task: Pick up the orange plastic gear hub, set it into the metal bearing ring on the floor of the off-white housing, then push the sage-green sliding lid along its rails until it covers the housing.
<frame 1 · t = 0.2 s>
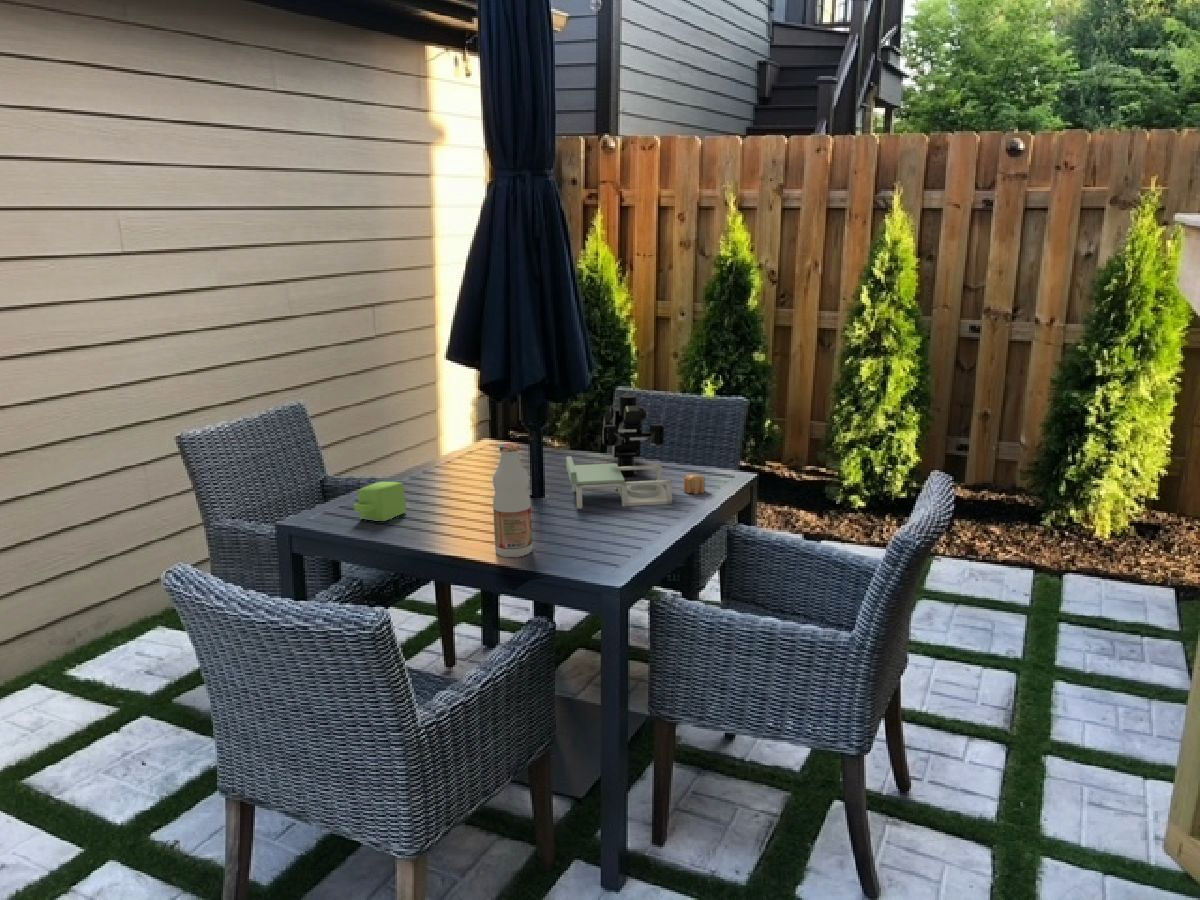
hand: (637, 441, 285), 17 cm above the table, tool horizontal, fingers open, 9 cm apart
housing: (643, 495, 289), on the table
gearbox: (383, 516, 275), on the table
sliding lid: (594, 469, 285), point 9 cm above the table, slide at -14.0 cm
gear hub: (694, 491, 292), on the table
fruit juice: (514, 552, 242), on the table
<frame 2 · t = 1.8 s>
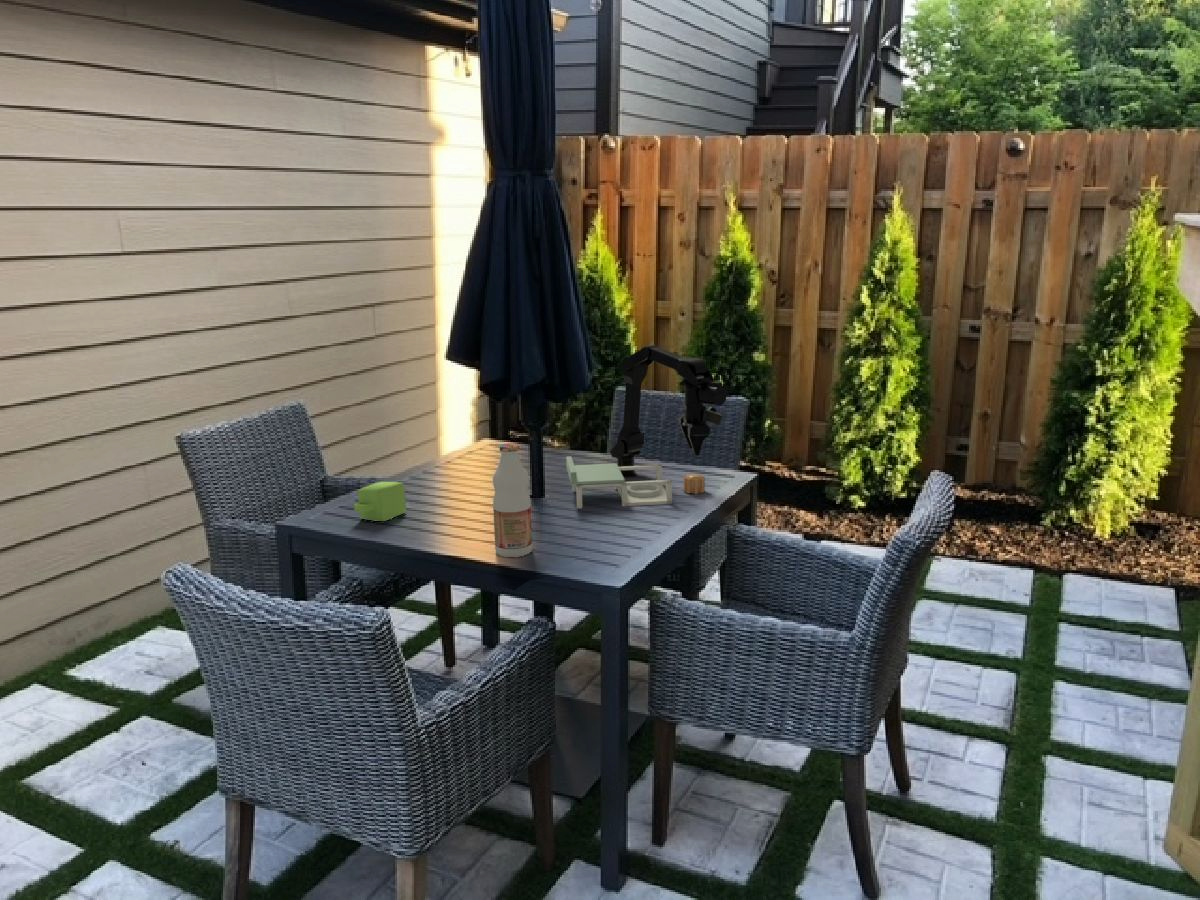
hand: (694, 451, 289), 13 cm above the table, tool pointing down, fingers open, 9 cm apart
nothing on the table moved.
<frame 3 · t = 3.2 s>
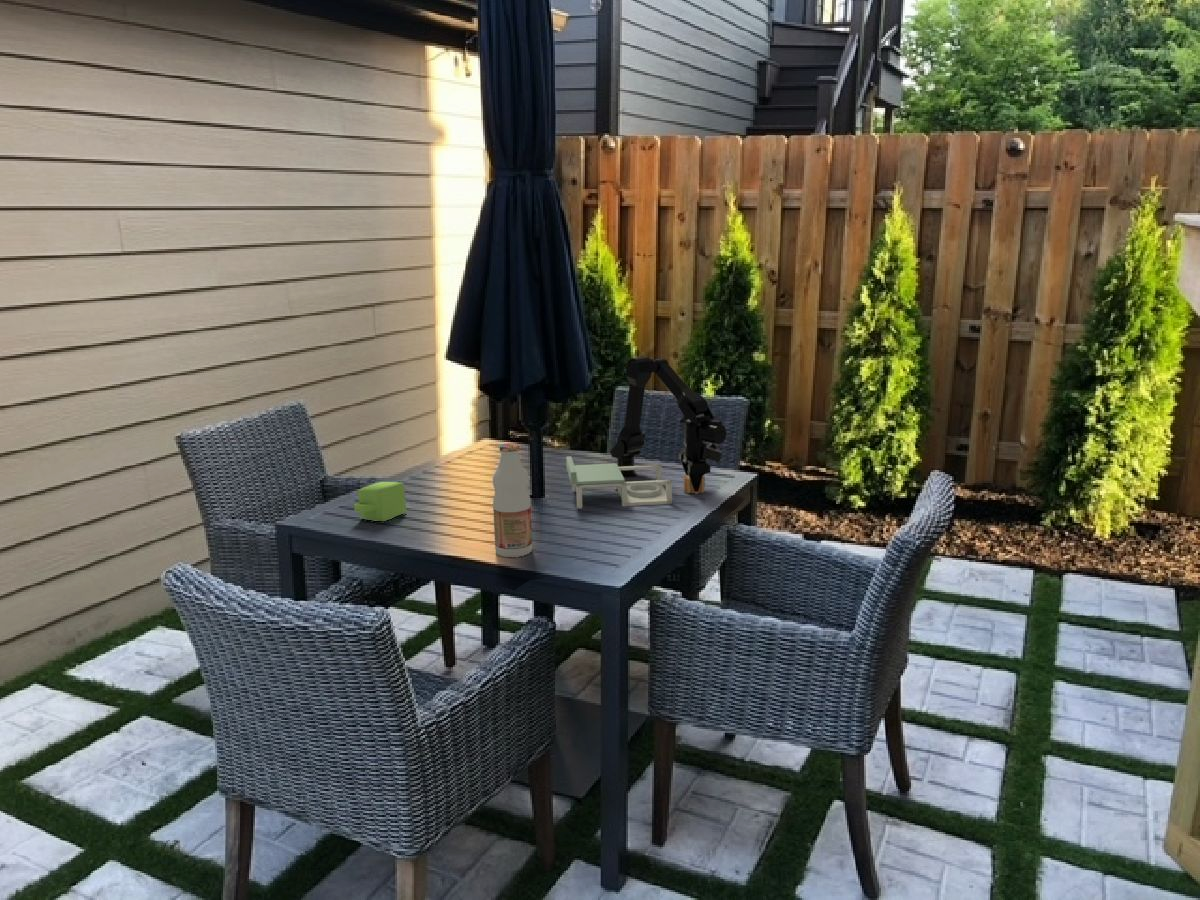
hand: (694, 488, 292), 1 cm above the table, tool pointing down, fingers closed on gear hub, 6 cm apart
gear hub: (694, 491, 292), on the table, touching gripper
everything else where it was.
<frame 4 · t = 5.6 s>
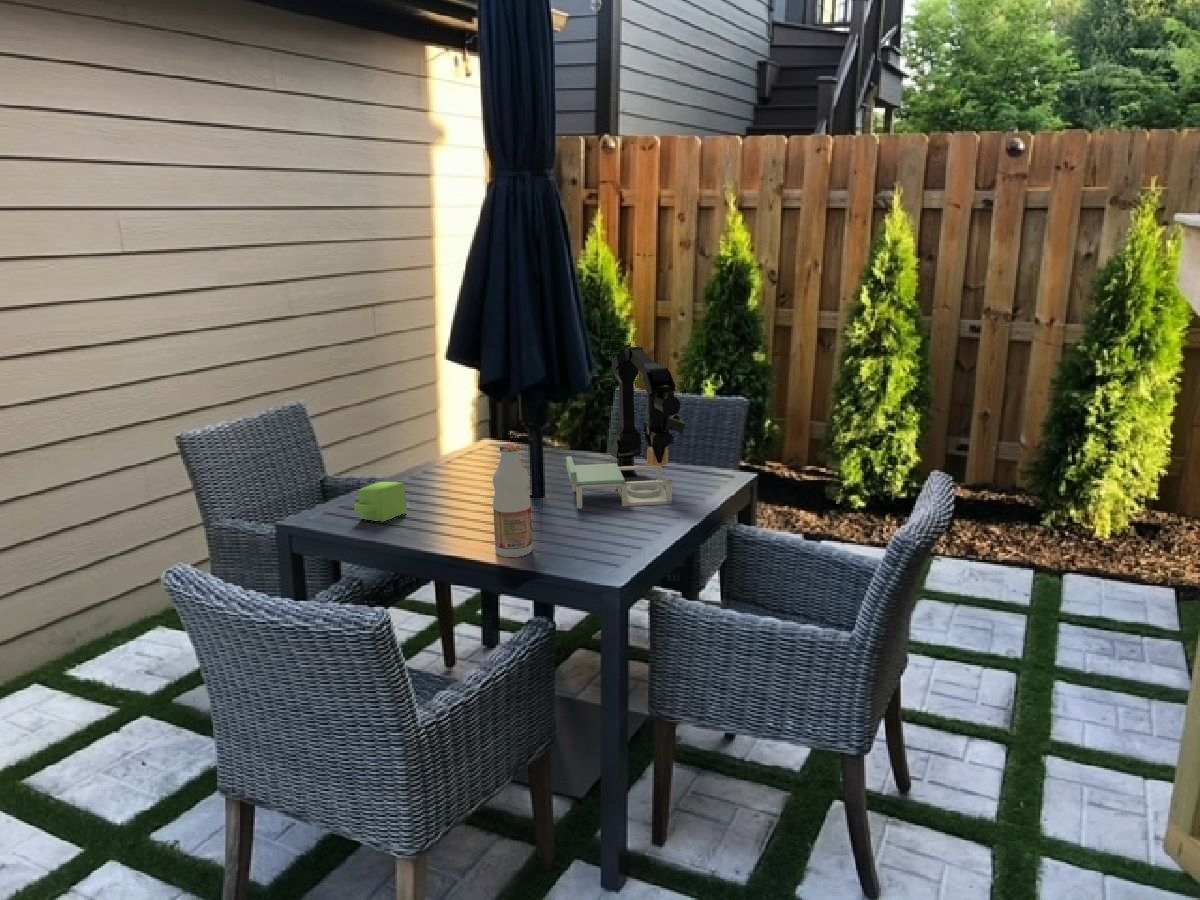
hand: (657, 460, 287), 11 cm above the table, tool pointing down, fingers closed on gear hub, 6 cm apart
gear hub: (657, 463, 287), point 10 cm above the table, touching gripper
everything else where it was.
when the fingers open (3 cm above the table, at t = 7.8 s): gear hub drops 1 cm, resting on housing.
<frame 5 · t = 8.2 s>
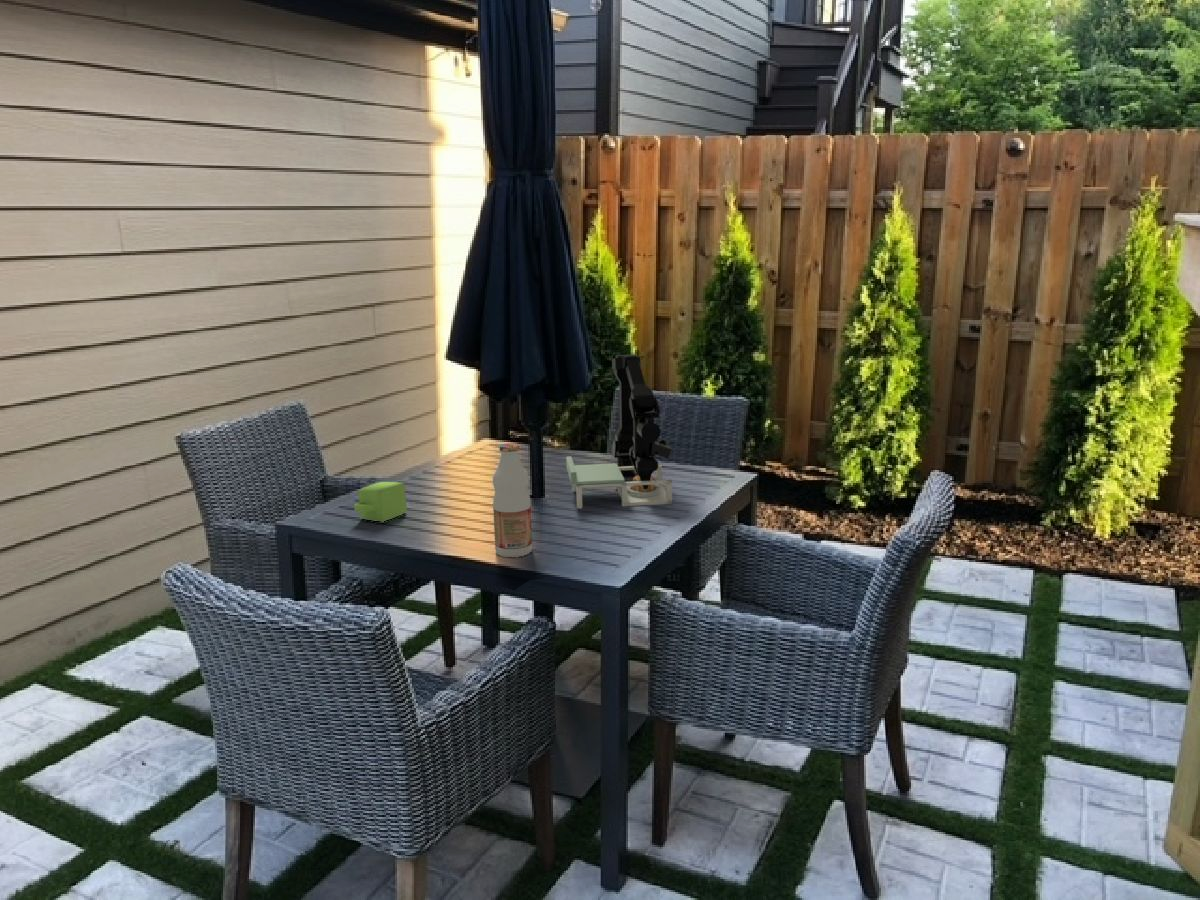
hand: (643, 484, 288), 3 cm above the table, tool pointing down, fingers open, 9 cm apart
gear hub: (643, 492, 289), point 1 cm above the table, touching housing
everything else where it was.
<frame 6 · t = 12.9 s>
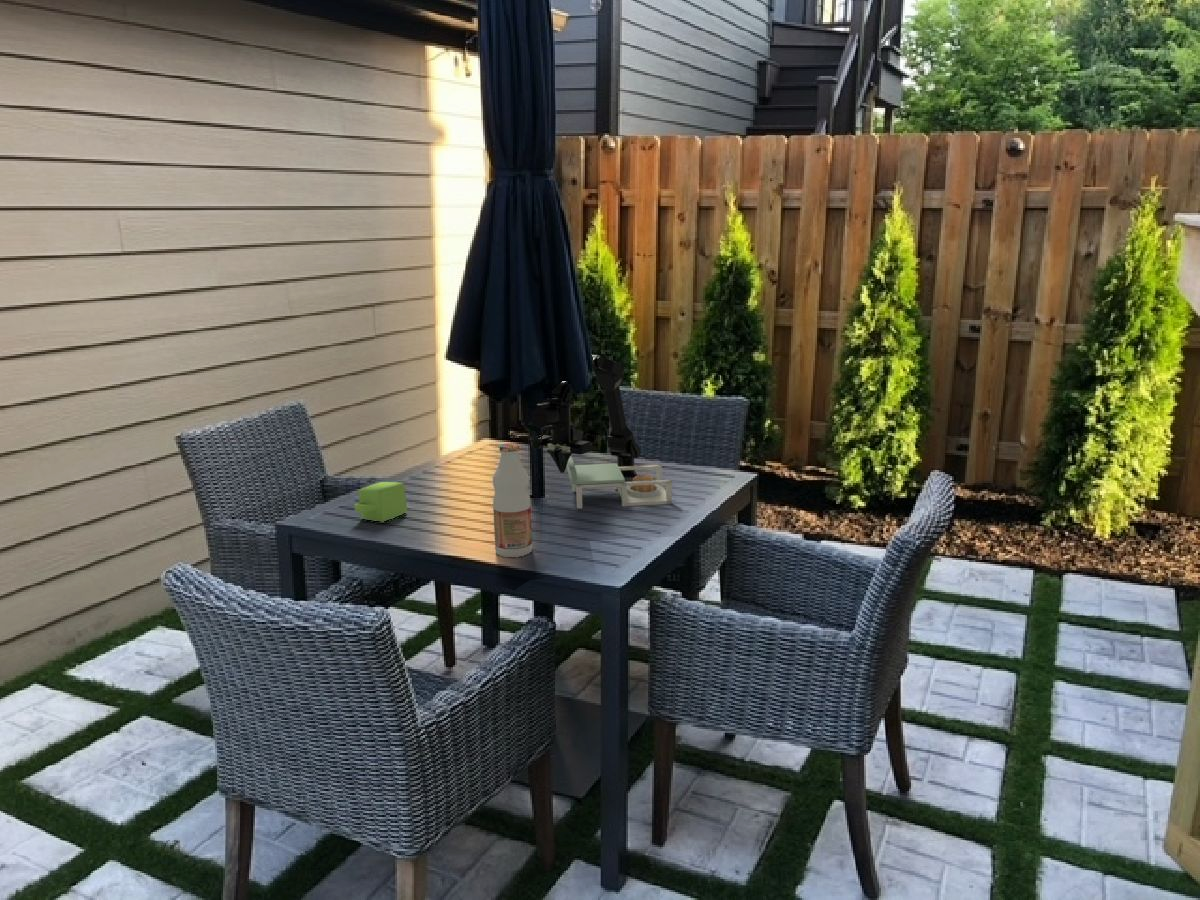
hand: (562, 472, 284), 8 cm above the table, tool pointing down, fingers closed
sliding lid: (594, 469, 285), point 9 cm above the table, slide at -13.9 cm, touching gripper
everything else where it was.
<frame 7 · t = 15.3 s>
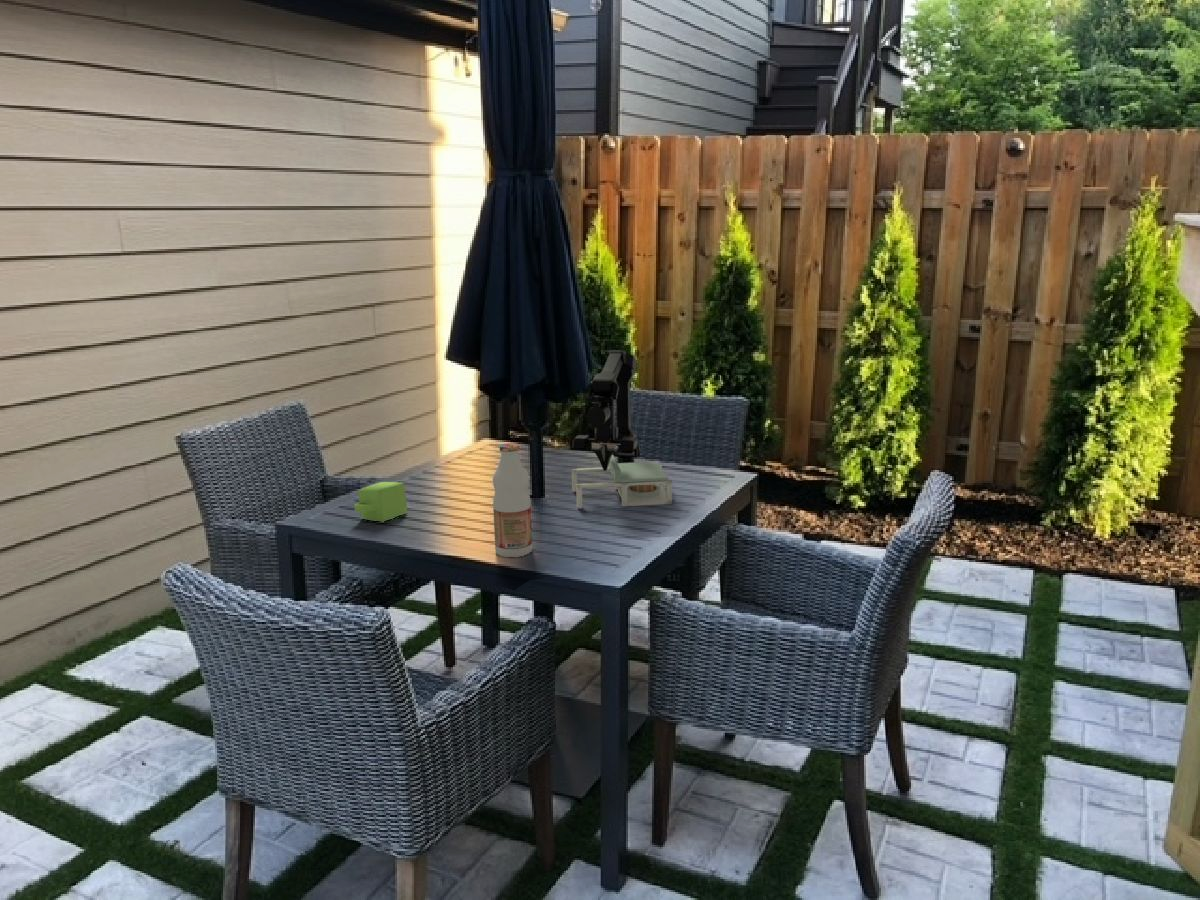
hand: (605, 470, 286), 9 cm above the table, tool pointing down, fingers closed
sliding lid: (637, 467, 286), point 9 cm above the table, slide at -1.1 cm, touching gripper
everything else where it was.
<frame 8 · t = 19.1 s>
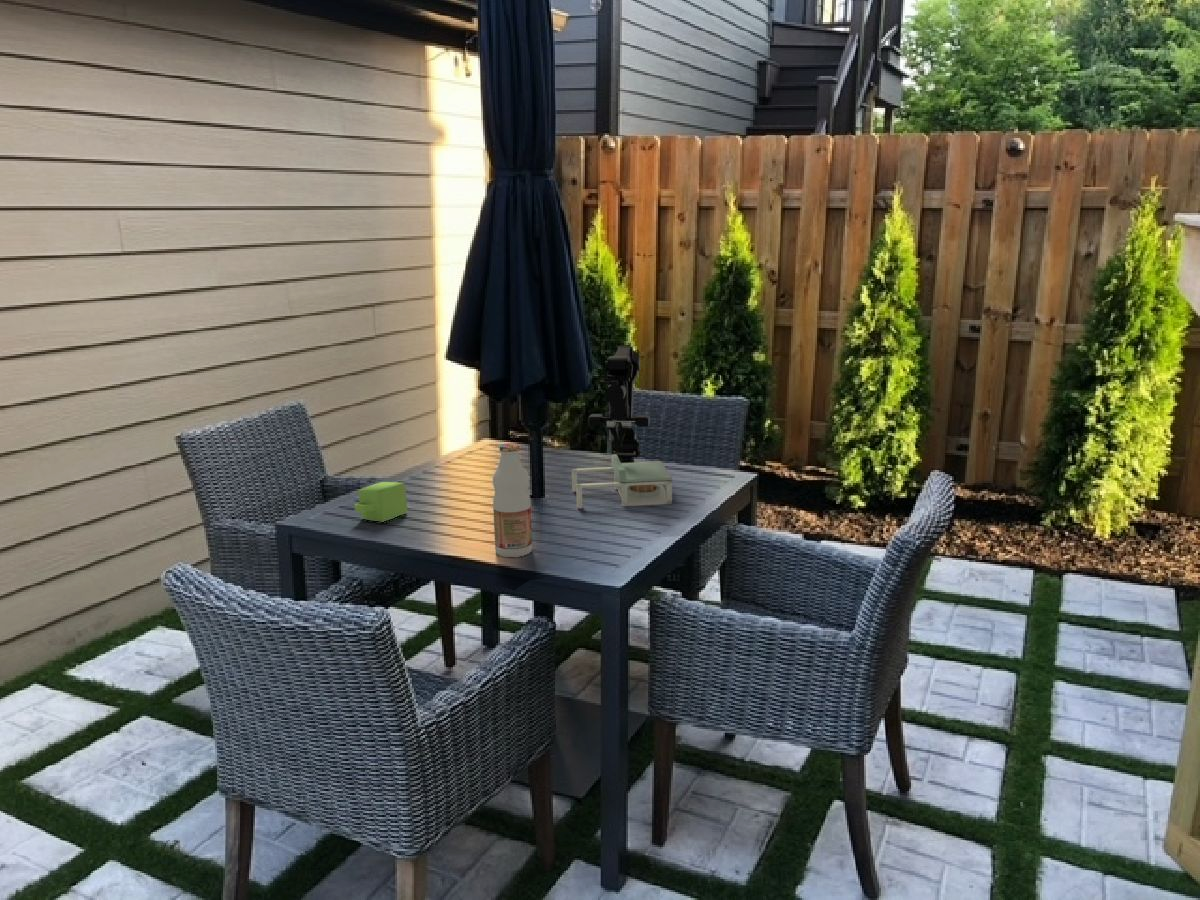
hand: (619, 447, 295), 13 cm above the table, tool pointing down, fingers closed
sliding lid: (640, 466, 286), point 9 cm above the table, slide at 0.0 cm
everything else where it was.
at the end: gear hub 0.0 cm off-centre on the housing, point 1.0 cm above the housing's base; gear hub tilted 0°; sliding lid slide at 0.0 cm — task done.
